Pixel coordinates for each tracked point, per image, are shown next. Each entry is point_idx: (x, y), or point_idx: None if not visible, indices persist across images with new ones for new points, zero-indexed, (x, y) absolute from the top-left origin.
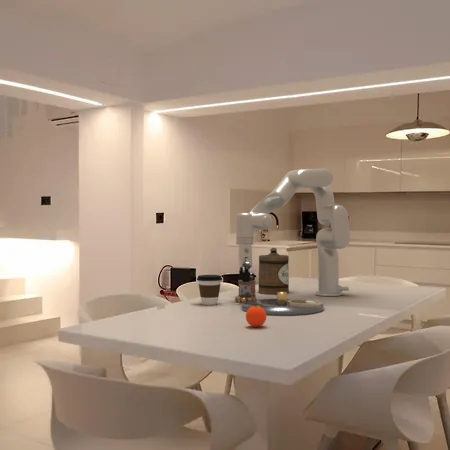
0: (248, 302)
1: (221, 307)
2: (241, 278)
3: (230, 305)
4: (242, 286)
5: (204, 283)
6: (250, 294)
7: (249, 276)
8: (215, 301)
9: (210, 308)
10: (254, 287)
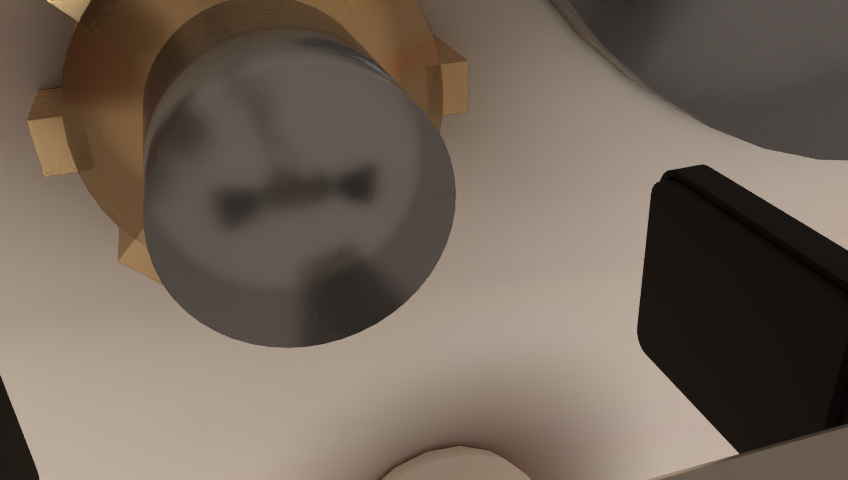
0: (729, 59)
1: None
2: (17, 456)
3: (581, 283)
4: (424, 275)
5: None
6: (340, 29)
7: (802, 233)
8: (520, 475)
9: (717, 441)
10: None
